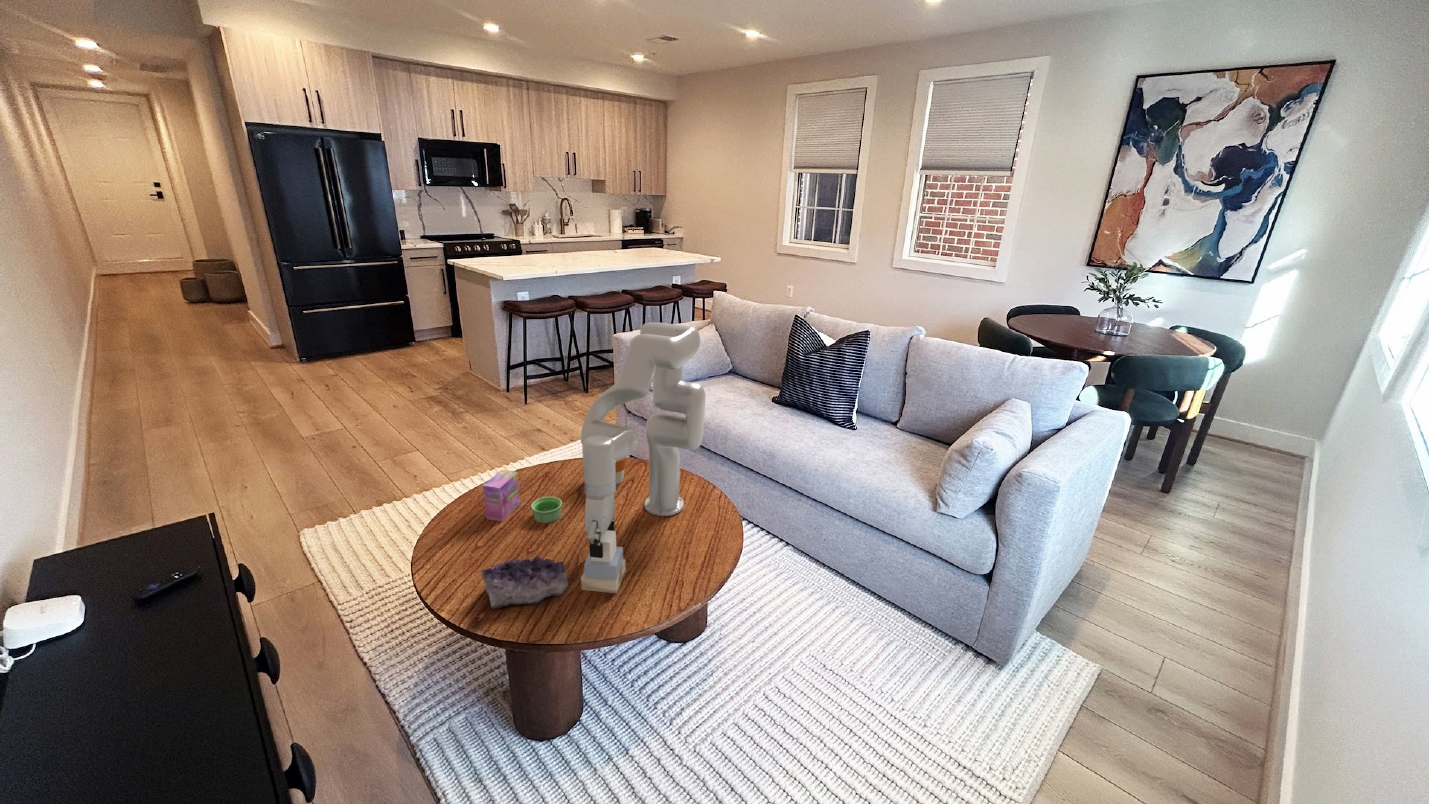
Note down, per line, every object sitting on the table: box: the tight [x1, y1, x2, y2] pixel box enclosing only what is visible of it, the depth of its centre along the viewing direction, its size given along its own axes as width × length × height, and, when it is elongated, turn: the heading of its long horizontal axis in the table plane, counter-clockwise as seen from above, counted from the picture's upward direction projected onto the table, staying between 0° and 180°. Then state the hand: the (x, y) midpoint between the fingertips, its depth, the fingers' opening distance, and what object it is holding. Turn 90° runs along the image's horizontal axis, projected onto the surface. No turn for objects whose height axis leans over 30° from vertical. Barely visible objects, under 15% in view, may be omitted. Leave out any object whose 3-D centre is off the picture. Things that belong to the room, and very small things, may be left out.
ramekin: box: [530, 496, 563, 524], centre depth 169 cm, size 9×9×4 cm
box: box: [482, 469, 521, 522], centre depth 169 cm, size 10×6×12 cm, turn 168°
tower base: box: [580, 558, 627, 594], centre depth 142 cm, size 9×9×4 cm
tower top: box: [583, 546, 624, 580], centre depth 141 cm, size 8×8×4 cm
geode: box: [481, 555, 569, 610], centre depth 136 cm, size 20×12×10 cm, turn 107°
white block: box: [591, 529, 617, 563], centre depth 139 cm, size 5×5×6 cm
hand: (602, 545), depth 139 cm, fingers open, 9 cm apart
